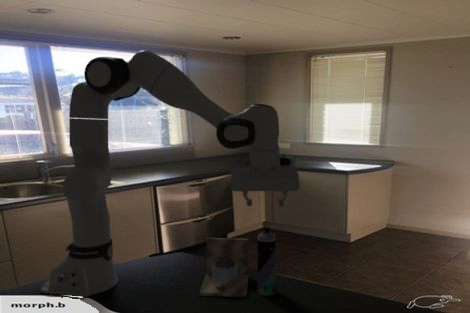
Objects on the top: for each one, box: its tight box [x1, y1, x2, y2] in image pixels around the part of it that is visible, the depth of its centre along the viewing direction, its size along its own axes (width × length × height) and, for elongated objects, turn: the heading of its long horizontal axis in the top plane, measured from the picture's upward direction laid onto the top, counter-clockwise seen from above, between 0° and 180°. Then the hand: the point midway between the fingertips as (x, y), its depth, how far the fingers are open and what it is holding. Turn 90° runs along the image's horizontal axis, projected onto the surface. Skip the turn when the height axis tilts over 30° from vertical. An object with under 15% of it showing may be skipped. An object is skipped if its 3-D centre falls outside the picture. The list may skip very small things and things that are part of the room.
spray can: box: [257, 226, 277, 297], centre depth 107 cm, size 6×6×20 cm
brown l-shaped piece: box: [198, 237, 250, 298], centre depth 111 cm, size 14×14×13 cm
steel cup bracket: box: [212, 257, 238, 289], centre depth 112 cm, size 8×10×6 cm
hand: (265, 205), depth 105 cm, fingers open, 8 cm apart
